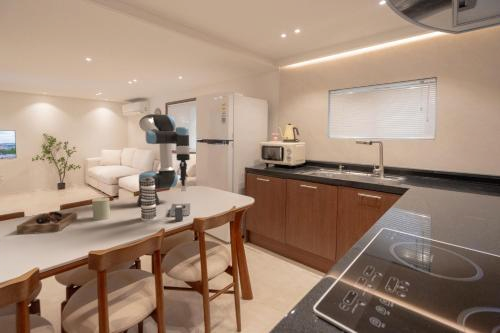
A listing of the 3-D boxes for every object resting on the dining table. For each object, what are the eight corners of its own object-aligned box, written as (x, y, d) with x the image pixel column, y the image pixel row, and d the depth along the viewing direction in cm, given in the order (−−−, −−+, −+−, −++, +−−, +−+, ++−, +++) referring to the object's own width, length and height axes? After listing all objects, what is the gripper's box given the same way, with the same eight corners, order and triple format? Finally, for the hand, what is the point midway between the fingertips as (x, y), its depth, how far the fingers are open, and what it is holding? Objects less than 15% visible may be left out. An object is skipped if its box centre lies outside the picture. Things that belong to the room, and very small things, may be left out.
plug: (175, 221, 154) (174, 207, 153) (175, 219, 158) (175, 205, 157) (182, 221, 155) (182, 207, 154) (182, 218, 159) (182, 205, 158)
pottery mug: (54, 221, 153) (60, 210, 152) (61, 231, 148) (67, 219, 147) (30, 222, 142) (36, 209, 141) (36, 233, 138) (43, 220, 137)
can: (113, 216, 162) (112, 197, 160) (101, 221, 153) (99, 200, 152) (102, 214, 165) (101, 196, 163) (89, 219, 156) (87, 199, 155)
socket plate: (169, 216, 163) (169, 210, 163) (172, 209, 179) (172, 203, 178) (189, 215, 165) (189, 209, 165) (190, 208, 181) (190, 203, 181)
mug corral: (17, 233, 133) (16, 226, 132) (41, 220, 153) (40, 213, 153) (59, 231, 136) (59, 224, 136) (77, 218, 157) (76, 212, 156)
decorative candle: (140, 216, 161) (139, 176, 158) (156, 215, 165) (155, 176, 162) (140, 221, 153) (138, 179, 150) (157, 220, 156) (155, 178, 153)
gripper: (188, 154, 143) (189, 192, 145) (190, 152, 168) (191, 185, 169) (174, 154, 142) (175, 193, 143) (177, 153, 166) (179, 186, 168)
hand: (184, 189), depth 156 cm, fingers open, 13 cm apart
